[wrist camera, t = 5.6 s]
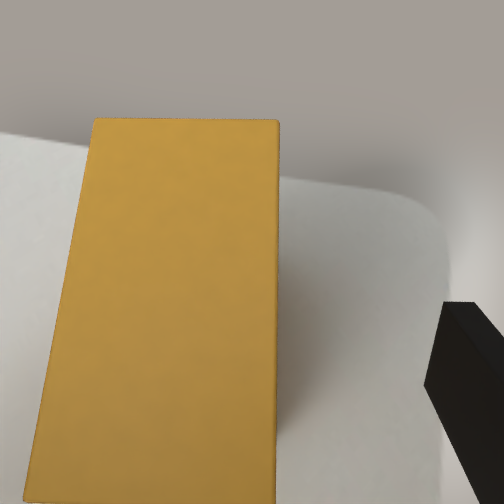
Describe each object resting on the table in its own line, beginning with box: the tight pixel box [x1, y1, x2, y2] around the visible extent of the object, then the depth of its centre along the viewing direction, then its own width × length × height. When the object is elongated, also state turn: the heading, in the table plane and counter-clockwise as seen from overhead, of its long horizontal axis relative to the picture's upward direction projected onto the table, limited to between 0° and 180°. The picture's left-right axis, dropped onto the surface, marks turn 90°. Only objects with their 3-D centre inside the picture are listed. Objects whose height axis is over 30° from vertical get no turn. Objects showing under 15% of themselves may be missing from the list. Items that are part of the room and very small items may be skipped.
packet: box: [23, 118, 280, 504], centre depth 13 cm, size 4×8×10 cm, turn 178°
